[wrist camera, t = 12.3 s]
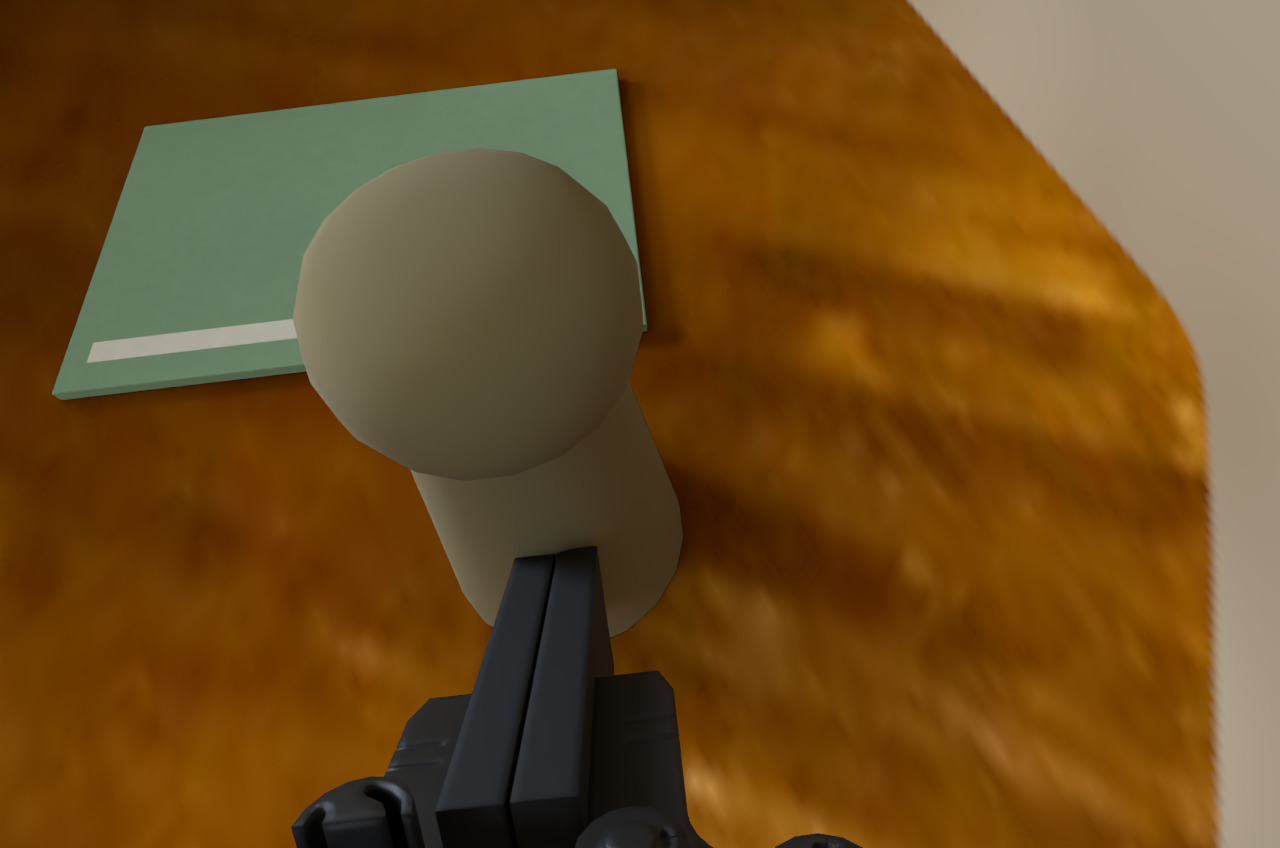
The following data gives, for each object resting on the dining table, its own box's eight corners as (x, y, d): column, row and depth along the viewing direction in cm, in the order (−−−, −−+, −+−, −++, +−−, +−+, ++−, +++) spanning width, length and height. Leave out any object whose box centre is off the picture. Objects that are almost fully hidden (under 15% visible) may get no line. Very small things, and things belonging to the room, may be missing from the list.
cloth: (617, 77, 29) (616, 67, 28) (647, 332, 23) (646, 324, 22) (151, 135, 29) (143, 125, 29) (60, 401, 23) (50, 393, 23)
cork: (518, 700, 18) (305, 522, 8) (416, 503, 20) (168, 197, 11) (729, 564, 19) (759, 272, 9) (607, 395, 22) (534, 36, 12)
